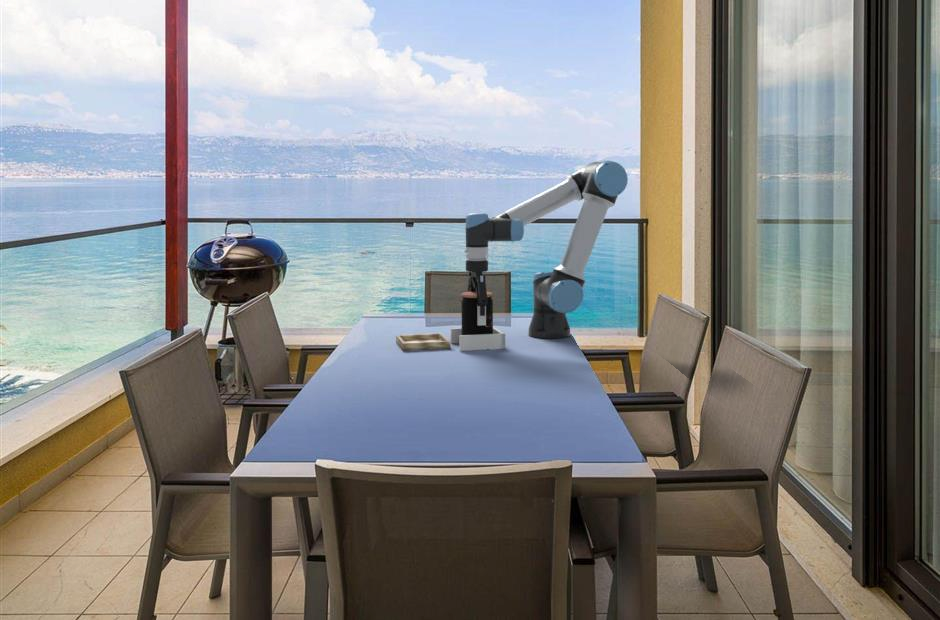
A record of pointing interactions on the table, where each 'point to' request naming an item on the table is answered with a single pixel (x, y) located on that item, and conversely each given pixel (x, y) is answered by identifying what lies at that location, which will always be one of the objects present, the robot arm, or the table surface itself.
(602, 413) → the table surface
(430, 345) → the tray
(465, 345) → the frame
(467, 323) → the coffee jar
